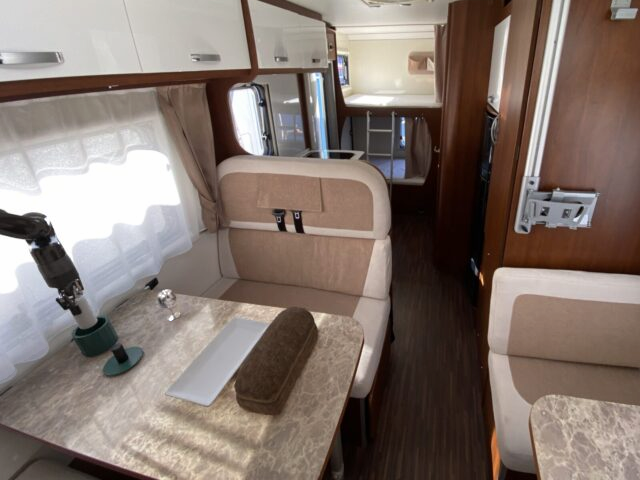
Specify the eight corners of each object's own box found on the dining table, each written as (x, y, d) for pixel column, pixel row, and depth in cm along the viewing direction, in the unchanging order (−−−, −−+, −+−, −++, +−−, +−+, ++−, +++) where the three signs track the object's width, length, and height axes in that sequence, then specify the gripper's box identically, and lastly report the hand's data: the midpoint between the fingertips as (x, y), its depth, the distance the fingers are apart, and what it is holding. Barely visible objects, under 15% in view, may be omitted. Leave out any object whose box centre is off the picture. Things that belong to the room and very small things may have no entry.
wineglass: (167, 313, 126) (158, 290, 121) (183, 309, 128) (174, 286, 123) (163, 323, 121) (153, 300, 116) (180, 319, 123) (170, 296, 118)
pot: (79, 362, 106) (67, 342, 102) (87, 341, 114) (76, 323, 110) (115, 348, 111) (104, 329, 107) (120, 330, 119) (111, 311, 115)
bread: (233, 413, 88) (219, 376, 82) (287, 327, 116) (280, 294, 110) (279, 423, 85) (268, 385, 79) (322, 332, 113) (317, 299, 107)
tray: (273, 329, 116) (271, 322, 114) (211, 414, 88) (208, 406, 86) (236, 322, 120) (234, 315, 118) (166, 401, 92) (162, 393, 90)
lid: (100, 383, 98) (90, 367, 95) (108, 357, 107) (99, 342, 104) (141, 366, 103) (133, 350, 100) (145, 343, 112) (138, 328, 109)
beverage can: (100, 322, 109) (86, 296, 104) (83, 332, 105) (67, 305, 101) (95, 317, 111) (81, 292, 107) (78, 326, 108) (63, 300, 103)
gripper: (51, 262, 103) (73, 301, 110) (32, 286, 91) (58, 327, 98) (79, 255, 106) (99, 293, 113) (65, 277, 95) (88, 318, 101)
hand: (80, 309), depth 105 cm, fingers closed on beverage can, 5 cm apart
